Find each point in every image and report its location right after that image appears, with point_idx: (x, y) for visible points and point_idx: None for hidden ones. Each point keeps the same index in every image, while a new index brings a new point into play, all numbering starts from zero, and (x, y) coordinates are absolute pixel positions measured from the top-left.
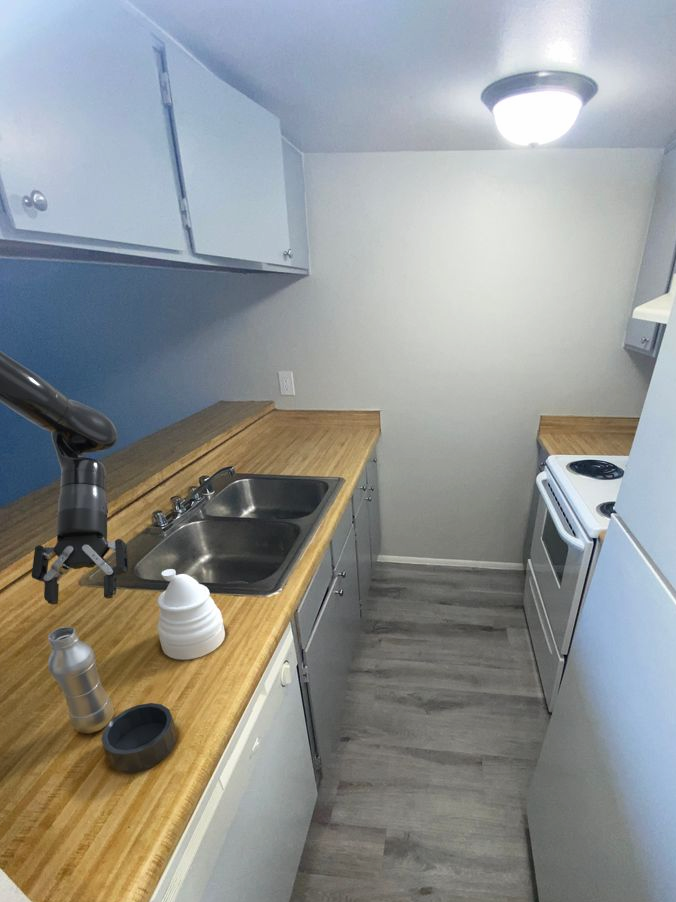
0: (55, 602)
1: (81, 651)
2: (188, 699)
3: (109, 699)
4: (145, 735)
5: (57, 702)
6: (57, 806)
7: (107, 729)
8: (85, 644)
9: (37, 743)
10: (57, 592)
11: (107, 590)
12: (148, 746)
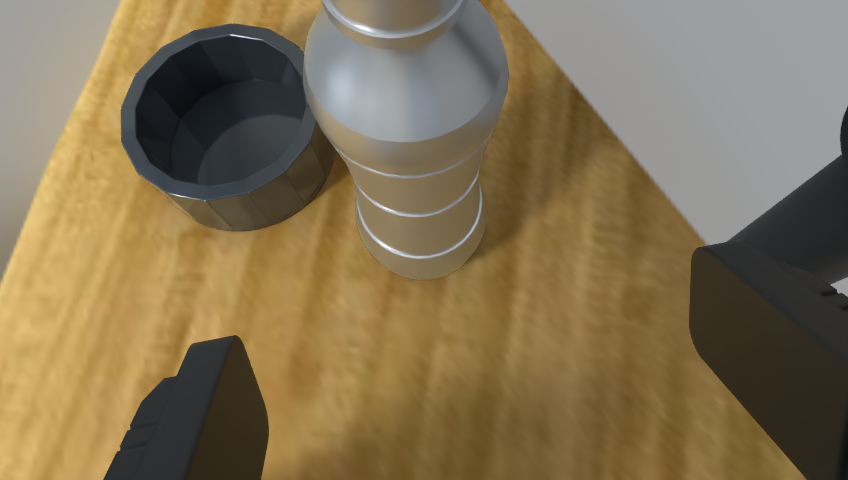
0: (694, 304)
1: (320, 17)
2: (151, 321)
3: (362, 229)
4: (247, 171)
5: (604, 326)
6: None
7: None
8: (329, 77)
9: (558, 166)
10: (758, 404)
11: (187, 369)
12: (170, 45)
